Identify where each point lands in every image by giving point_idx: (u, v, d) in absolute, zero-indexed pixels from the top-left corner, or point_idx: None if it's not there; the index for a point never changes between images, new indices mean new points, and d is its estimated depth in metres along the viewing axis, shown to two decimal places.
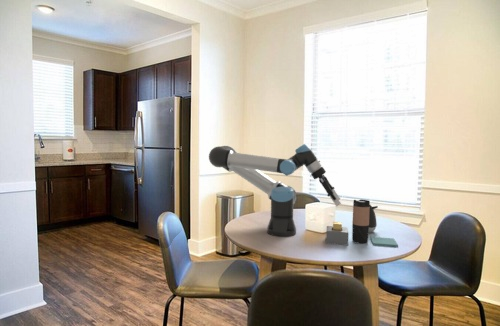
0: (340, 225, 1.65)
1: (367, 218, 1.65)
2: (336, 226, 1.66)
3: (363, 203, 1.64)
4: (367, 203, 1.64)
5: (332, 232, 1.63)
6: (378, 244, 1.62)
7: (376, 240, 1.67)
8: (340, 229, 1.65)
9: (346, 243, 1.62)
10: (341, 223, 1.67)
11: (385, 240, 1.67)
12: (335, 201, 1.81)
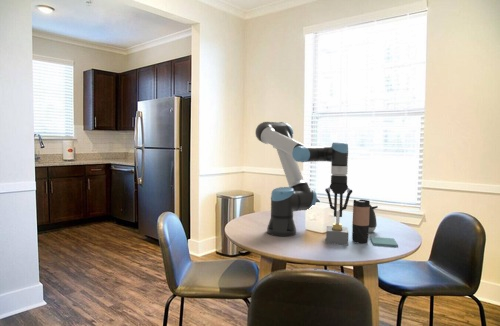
0: (340, 226, 1.65)
1: (367, 218, 1.65)
2: (336, 227, 1.66)
3: (363, 203, 1.64)
4: (367, 203, 1.64)
5: (332, 232, 1.63)
6: (378, 244, 1.62)
7: (376, 240, 1.67)
8: (340, 230, 1.65)
9: (346, 243, 1.62)
10: (341, 224, 1.67)
11: (385, 240, 1.67)
12: None
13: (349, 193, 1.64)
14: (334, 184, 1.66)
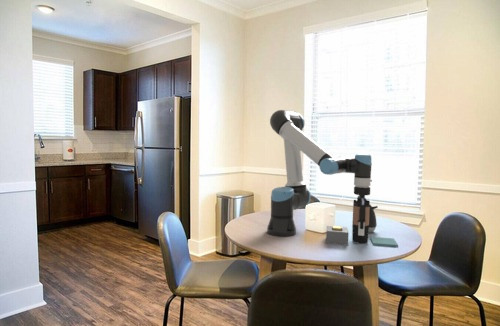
0: (340, 229, 1.65)
1: (367, 218, 1.65)
2: None
3: None
4: (367, 203, 1.64)
5: (332, 232, 1.63)
6: (378, 244, 1.62)
7: (376, 240, 1.67)
8: None
9: (346, 243, 1.62)
10: (341, 227, 1.67)
11: (385, 240, 1.67)
12: (360, 230, 1.64)
13: None
14: None
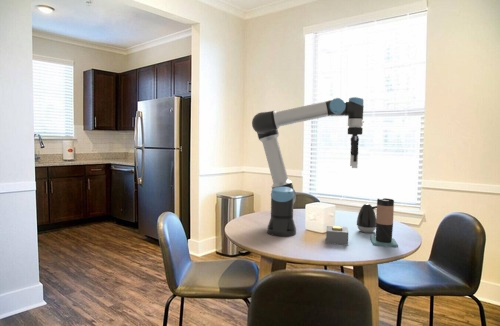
0: (340, 229, 1.65)
1: (391, 217, 1.63)
2: None
3: (388, 202, 1.62)
4: (391, 202, 1.62)
5: (332, 232, 1.63)
6: (378, 244, 1.62)
7: None
8: None
9: (346, 243, 1.62)
10: (341, 227, 1.67)
11: None
12: (354, 163, 1.78)
13: None
14: None
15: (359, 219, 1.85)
